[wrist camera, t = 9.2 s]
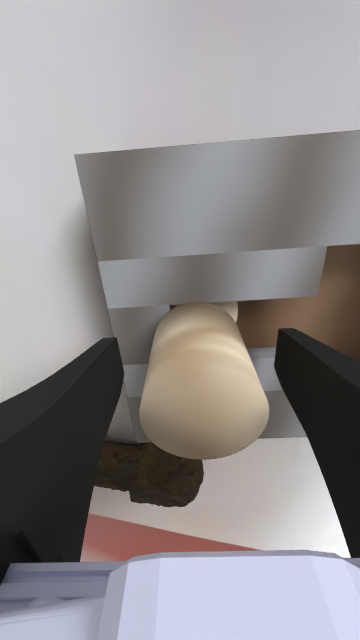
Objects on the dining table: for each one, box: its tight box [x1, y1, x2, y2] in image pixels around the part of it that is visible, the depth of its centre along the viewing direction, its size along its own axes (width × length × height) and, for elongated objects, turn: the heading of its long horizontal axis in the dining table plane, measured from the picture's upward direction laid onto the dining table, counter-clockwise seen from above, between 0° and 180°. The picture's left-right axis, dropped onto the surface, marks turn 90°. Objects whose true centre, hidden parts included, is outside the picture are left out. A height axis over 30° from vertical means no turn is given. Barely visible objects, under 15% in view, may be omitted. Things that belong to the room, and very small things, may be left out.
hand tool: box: [94, 441, 204, 507], centre depth 22 cm, size 19×4×5 cm, turn 77°
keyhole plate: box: [74, 130, 360, 443], centre depth 15 cm, size 18×16×4 cm
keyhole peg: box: [139, 301, 269, 459], centre depth 12 cm, size 5×5×9 cm
